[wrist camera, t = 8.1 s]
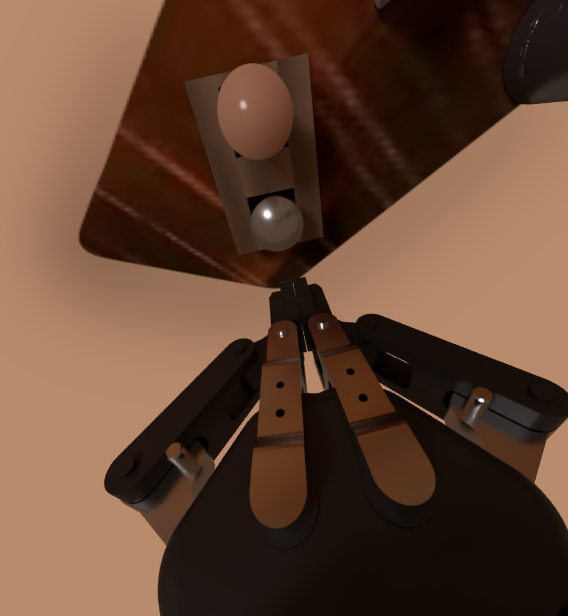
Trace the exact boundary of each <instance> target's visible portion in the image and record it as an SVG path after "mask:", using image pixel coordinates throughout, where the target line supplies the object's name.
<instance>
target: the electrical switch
mask: <svg viewBox="0 0 568 616" xmlns="http://www.w3.org/2000/svg"><path fill="white" fill-rule="evenodd" d="M373 1H374V3H375V4H376V6H377V8H378V9H381V8H383V7H384V6H385V5H386V4H387V3H388V2H389V1H390V0H373Z"/></svg>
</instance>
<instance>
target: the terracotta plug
mask: <svg viewBox="0 0 568 616" xmlns="http://www.w3.org/2000/svg"><path fill="white" fill-rule="evenodd" d="M217 112H218V120H219V124H220V127H221V130H222V133H223V135H224V137H225V139H226V140H227V142H228V143H229V144H230V146H231V147H232V148H233V149H234V150H235V151H236V152H238V153H239V154H241V155H242V156H244V157H246V158H249V159H254V160H262V159H267V158H270V157H272V156H274V155H275V154H277V153H278V152H279V151H280V150H281V149H282V148H283V147H284V145H285V144H286V142H287V140H288V138H289V136H290V133H291V130H292V125H293V105H292V100H291V97H290V94H289V91H288V89H287V87H286V85H285V83H284V82H283V81H282V79H281V78H280V77H279V76H278V75H277V74H276V73H275V72H274V71H273V70H271V69H270V68H268V67H266V66H264V65H260V64H253V63H251V64H245V65H242V66H240V67H238V68H236V69H235V70H233V71H232V72H231V73H230V74H229V75H228V76H227V78H226V79H225V81H224V83H223V85H222V87H221V90H220V92H219V97H218V104H217Z"/></svg>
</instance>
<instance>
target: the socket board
mask: <svg viewBox="0 0 568 616" xmlns="http://www.w3.org/2000/svg"><path fill="white" fill-rule="evenodd" d="M260 65H264V66H266V67H268V68H270V69H271V70H273V71H274V72H275V73H276V74H277V75H278V76H279V77H280V78H281V79H282V81H283V82H284V83H285V85H286V87H287V89H288V91H289V94H290V97H291V100H292V105H293V125H292V130H291V133H290V136H289V138H288V140H287V142H286V144H285V145H284V147H283V148H282V149H281V150H280V151H279V152H278V153H277V154H275V155H274V156H272V157H270V158H267V159H262V160H254V159H249V158H246V157H244V156H242V155H241V154H239V153H238V152H236V151H235V150H234V149H233V148H232V147H231V146H230V144H229V143H228V142H227V140H226V139H225V137H224V135H223V133H222V130H221V127H220V124H219V120H218V112H217V104H218V97H219V92H220V90H221V87H222V85H223V83H224V81H225V79H226V78H227V76H228V75H229V74H230V73H231V72H232V71H229V72H225V73H221V74H216V75H212V76H208V77H203V78H199V79H195V80H190V81H186V82H184V83H185V87H186V90H187V93H188V96H189V99H190V102H191V106H192V109H193V112H194V115H195V118H196V122H197V125H198V128H199V131H200V134H201V137H202V141H203V144H204V147H205V150H206V153H207V157H208V160H209V163H210V166H211V169H212V172H213V176H214V179H215V182H216V185H217V188H218V192H219V195H220V198H221V201H222V204H223V207H224V211H225V214H226V217H227V220H228V223H229V227H230V230H231V233H232V236H233V239H234V243H235V246H236V249H237V252H238V255H241V254H245V253H250V252H255V251H260V250H264V249H265V248H263V247H261V246H260V245H259V244H258V243H257V242H256V241H255V239H254V237H253V235H252V233H251V227H250V221H251V215H252V212H253V210H252V206H251V202H250V198H249V197H253V196H258V195H262V194H267V193H272V192H276V191H281V190H285V189H290V191H291V198H292V201H293V202H294V203H295V204H296V205H297V207H298V208H299V210H300V212H301V214H302V217H303V223H304V226H303V232H302V235H301V237H300V238H299V240H298V241H297V242H302V241H307V240H311V239H316V238H321V237H323V226H322V214H321V202H320V190H319V179H318V167H317V155H316V143H315V132H314V120H313V108H312V96H311V84H310V73H309V61H308V53H307V54H302V55H298V56H294V57H290V58H285V59H281V60H277V61H272V62H268V63H264V64H260ZM297 242H296V243H297Z"/></svg>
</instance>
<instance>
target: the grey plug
mask: <svg viewBox="0 0 568 616" xmlns="http://www.w3.org/2000/svg"><path fill="white" fill-rule="evenodd" d="M303 226H304V223H303V217H302V214H301V212H300V210H299V208H298V207H297V205H296V204H295V203H294V202H293V201H292V200H290V199H288V198H286V196H285V195H284V194H283V193H282V192H281V191H276V192H272V193H267V194H262V195H260V196H259V197H258V199H257V202H256V207H255V208H254V210H253V212H252V215H251V221H250V227H251V233H252V235H253V237H254V239H255V241H256V242H257V243H258V244H259V245H260V246H261V247H263V248H265V249H267V250H270V251H283V250H286V249H289V248H290V247H292V246H293V245H294V244H296V242H297V241H298V240H299V238H300V237H301V235H302V232H303Z"/></svg>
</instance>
